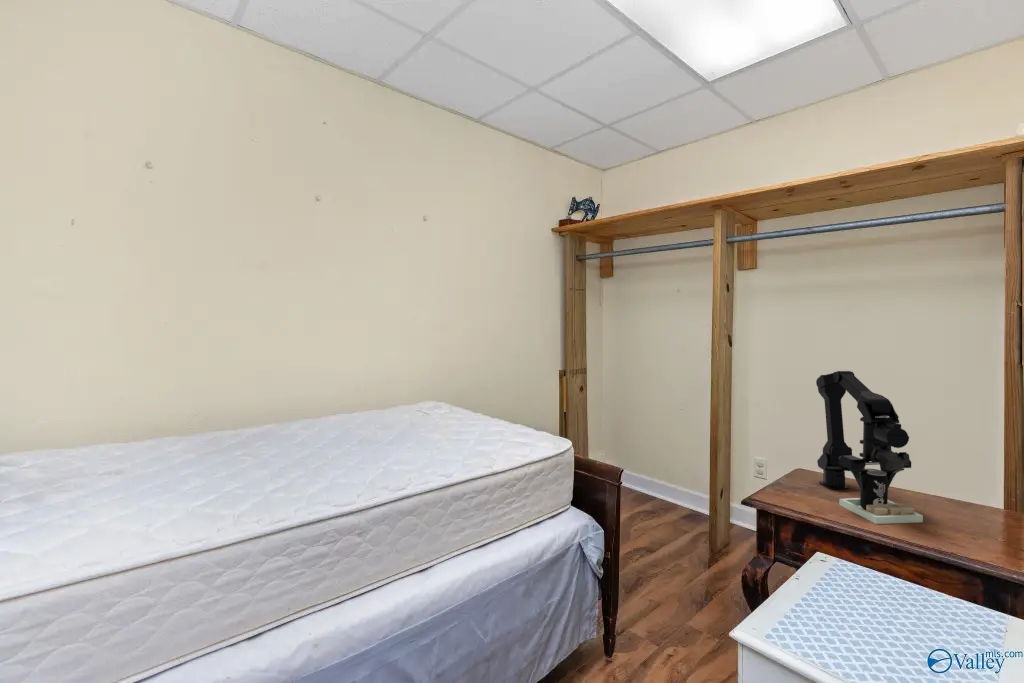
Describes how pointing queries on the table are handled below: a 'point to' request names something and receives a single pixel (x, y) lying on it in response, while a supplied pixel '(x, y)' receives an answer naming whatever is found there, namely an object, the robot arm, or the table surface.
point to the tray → (855, 507)
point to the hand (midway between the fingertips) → (873, 489)
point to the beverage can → (874, 488)
